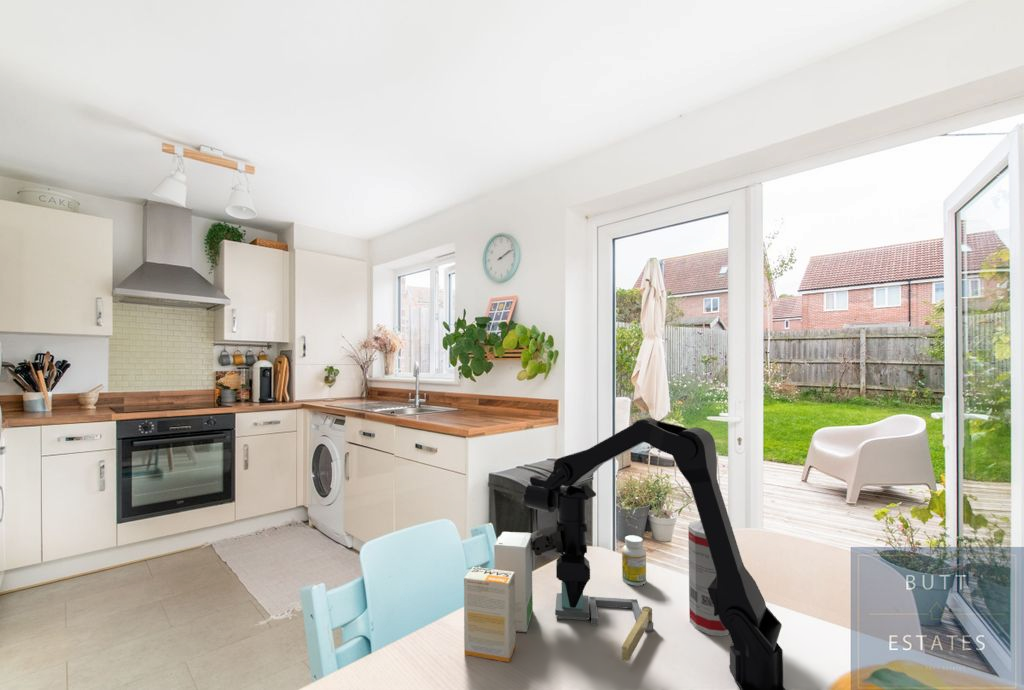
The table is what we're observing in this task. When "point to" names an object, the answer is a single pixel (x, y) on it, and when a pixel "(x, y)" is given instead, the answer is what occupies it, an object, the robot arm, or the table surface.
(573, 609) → the plug
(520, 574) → the skincare box
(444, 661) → the table surface
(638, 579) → the supplement bottle
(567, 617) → the pad
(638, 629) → the clip
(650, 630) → the socket
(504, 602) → the supplement box
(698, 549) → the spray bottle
